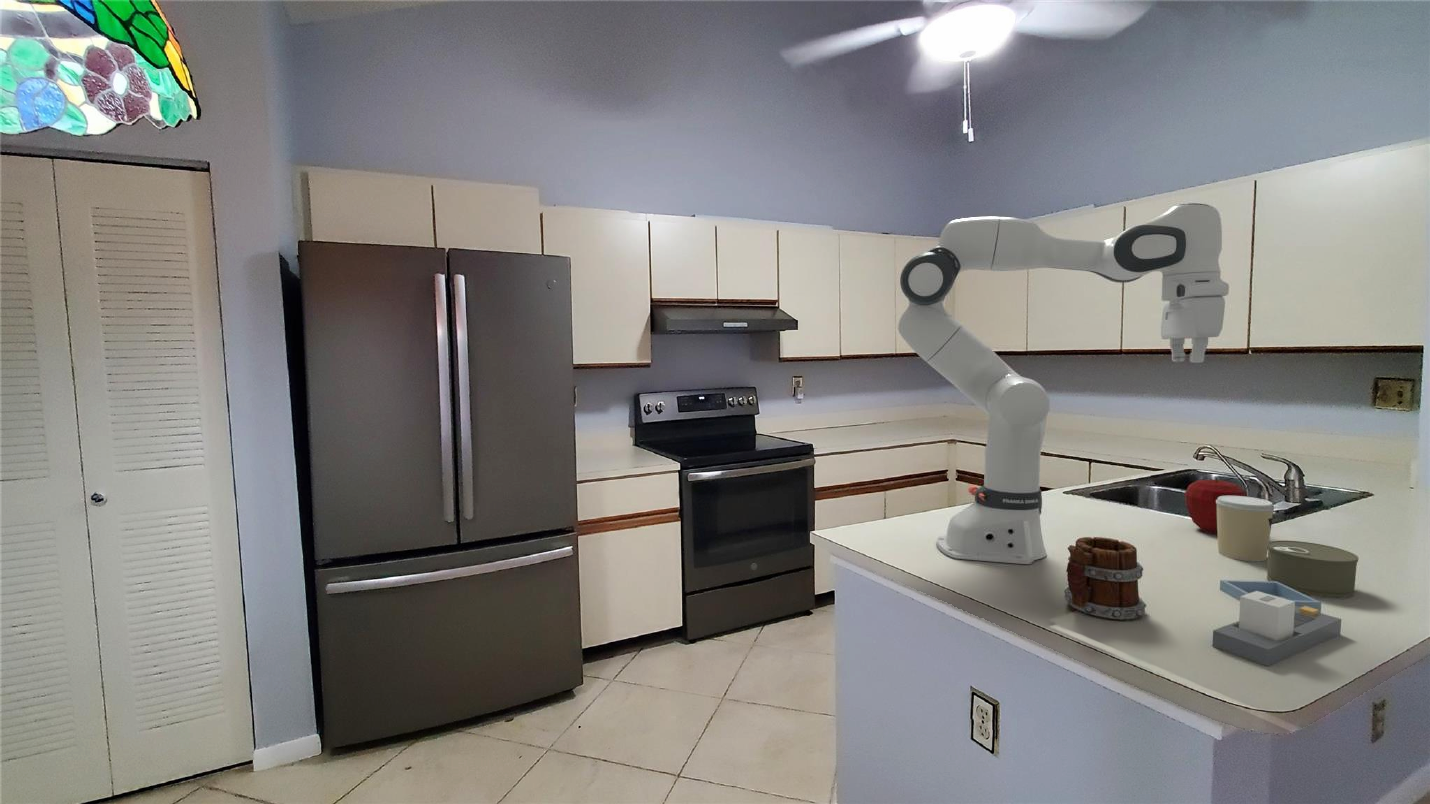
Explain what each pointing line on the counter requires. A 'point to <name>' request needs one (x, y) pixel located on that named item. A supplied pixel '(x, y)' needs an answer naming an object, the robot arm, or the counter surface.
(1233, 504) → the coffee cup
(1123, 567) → the mug
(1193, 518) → the apple
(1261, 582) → the tray
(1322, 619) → the grey compartment box
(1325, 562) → the can
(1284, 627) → the charger
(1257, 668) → the counter surface
